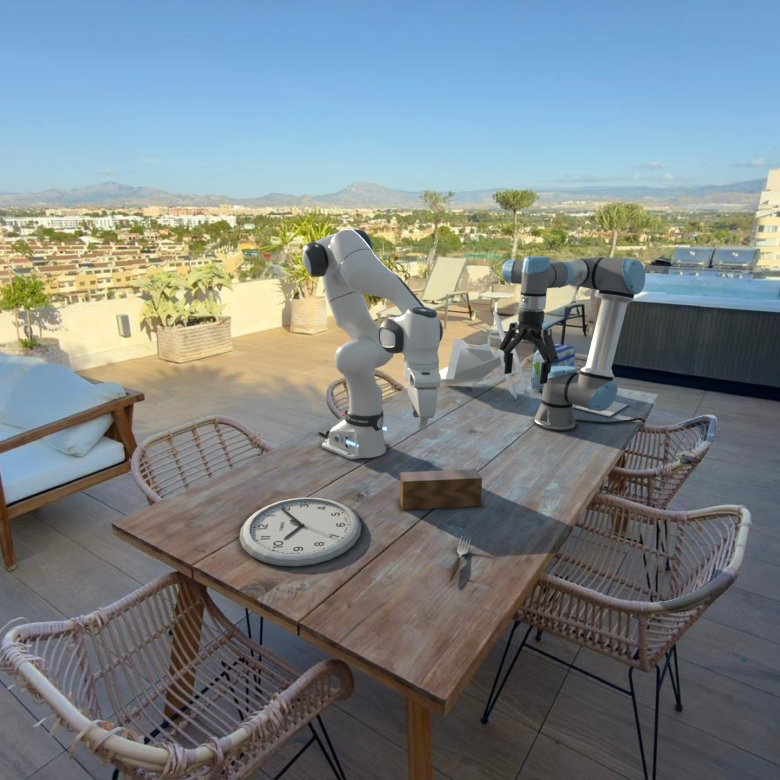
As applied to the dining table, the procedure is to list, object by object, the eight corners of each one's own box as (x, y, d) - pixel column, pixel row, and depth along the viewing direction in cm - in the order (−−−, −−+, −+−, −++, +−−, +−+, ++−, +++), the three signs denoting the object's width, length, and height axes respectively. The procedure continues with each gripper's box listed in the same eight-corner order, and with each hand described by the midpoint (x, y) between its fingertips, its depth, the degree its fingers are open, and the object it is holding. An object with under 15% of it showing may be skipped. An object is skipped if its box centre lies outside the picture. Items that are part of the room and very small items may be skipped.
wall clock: (363, 557, 118) (227, 562, 115) (363, 563, 118) (227, 568, 115) (359, 492, 146) (250, 495, 143) (359, 498, 147) (250, 500, 144)
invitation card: (608, 416, 214) (573, 407, 224) (608, 416, 214) (573, 408, 224) (628, 404, 229) (594, 396, 238) (628, 405, 229) (594, 397, 238)
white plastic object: (461, 429, 252) (437, 405, 227) (444, 352, 274) (420, 323, 250) (535, 404, 240) (518, 377, 215) (510, 326, 262) (492, 293, 237)
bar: (474, 496, 149) (476, 469, 146) (480, 505, 144) (482, 478, 141) (399, 499, 146) (400, 472, 144) (402, 509, 141) (403, 481, 139)
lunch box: (547, 396, 238) (552, 351, 232) (526, 391, 246) (531, 347, 239) (574, 385, 256) (579, 343, 250) (554, 380, 263) (559, 340, 257)
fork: (443, 582, 112) (444, 574, 112) (460, 542, 127) (460, 535, 126) (455, 584, 112) (456, 576, 111) (471, 544, 126) (471, 537, 125)
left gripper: (402, 361, 142) (401, 409, 146) (415, 383, 123) (413, 437, 127) (425, 361, 143) (423, 409, 147) (441, 382, 124) (439, 436, 128)
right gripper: (491, 305, 163) (486, 371, 169) (560, 316, 144) (551, 390, 151) (507, 303, 167) (501, 367, 174) (576, 314, 149) (567, 385, 155)
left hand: (419, 422), depth 137 cm, fingers open, 8 cm apart
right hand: (525, 378), depth 162 cm, fingers open, 13 cm apart
